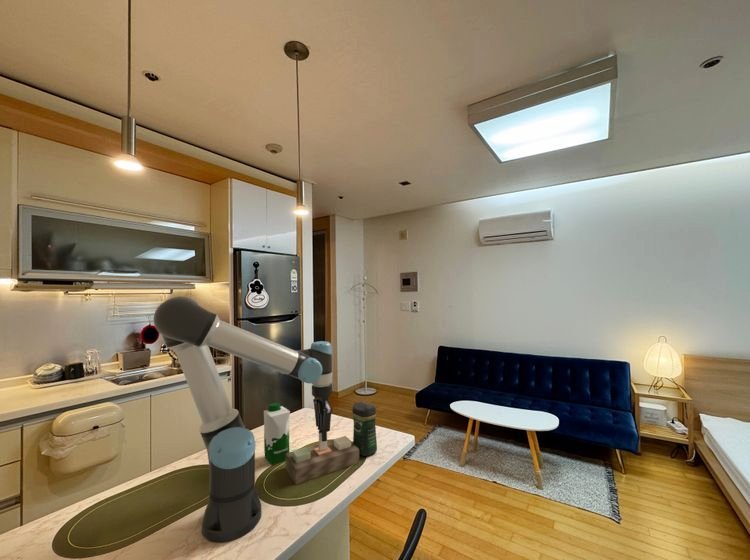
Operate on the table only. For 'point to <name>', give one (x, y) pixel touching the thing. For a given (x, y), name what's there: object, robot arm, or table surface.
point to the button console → (321, 462)
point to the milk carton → (276, 433)
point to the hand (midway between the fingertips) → (323, 448)
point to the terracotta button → (322, 451)
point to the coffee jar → (364, 428)
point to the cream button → (342, 443)
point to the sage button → (301, 455)
